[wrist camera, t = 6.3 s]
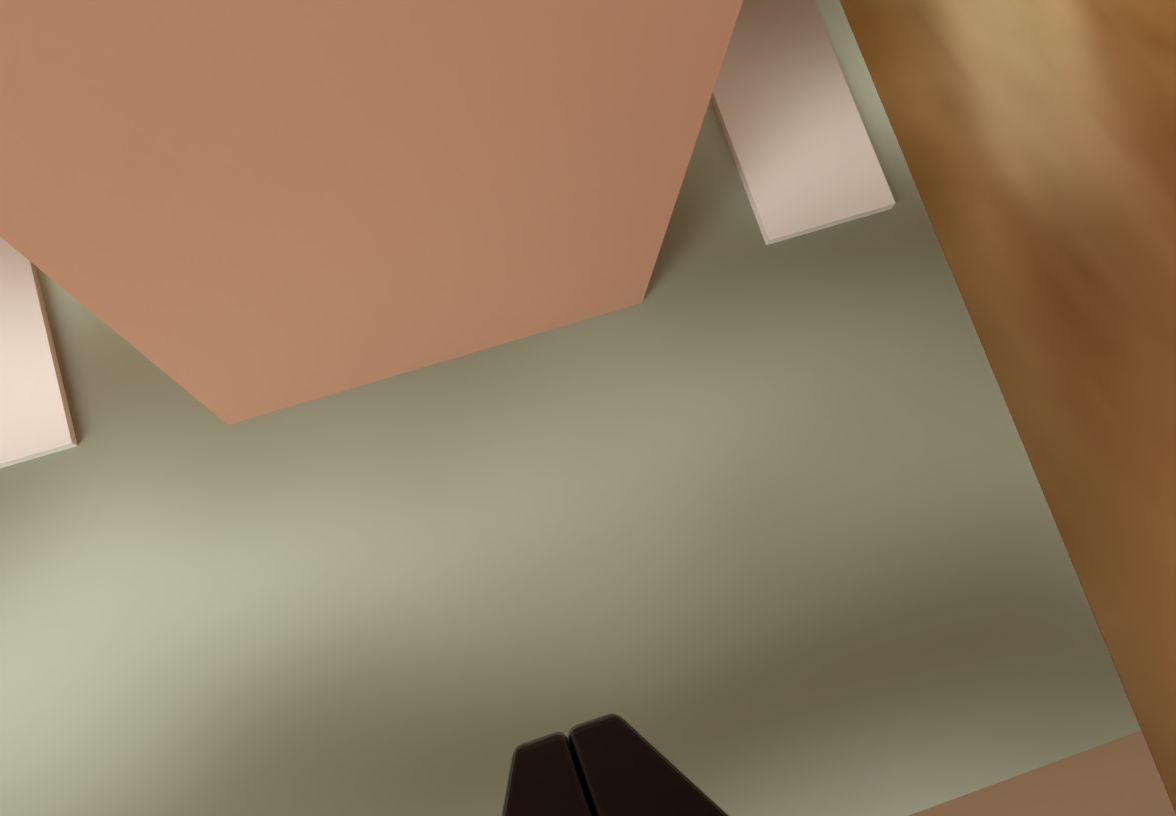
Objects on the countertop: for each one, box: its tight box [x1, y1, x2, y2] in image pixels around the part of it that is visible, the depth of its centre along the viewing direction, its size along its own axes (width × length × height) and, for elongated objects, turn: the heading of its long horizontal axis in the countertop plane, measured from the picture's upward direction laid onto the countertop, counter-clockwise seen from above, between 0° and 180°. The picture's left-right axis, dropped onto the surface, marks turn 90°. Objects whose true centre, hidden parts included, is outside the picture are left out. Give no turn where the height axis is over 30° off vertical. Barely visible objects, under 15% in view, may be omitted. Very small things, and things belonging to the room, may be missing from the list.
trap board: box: [0, 0, 1176, 816], centre depth 16 cm, size 35×15×2 cm, turn 18°
